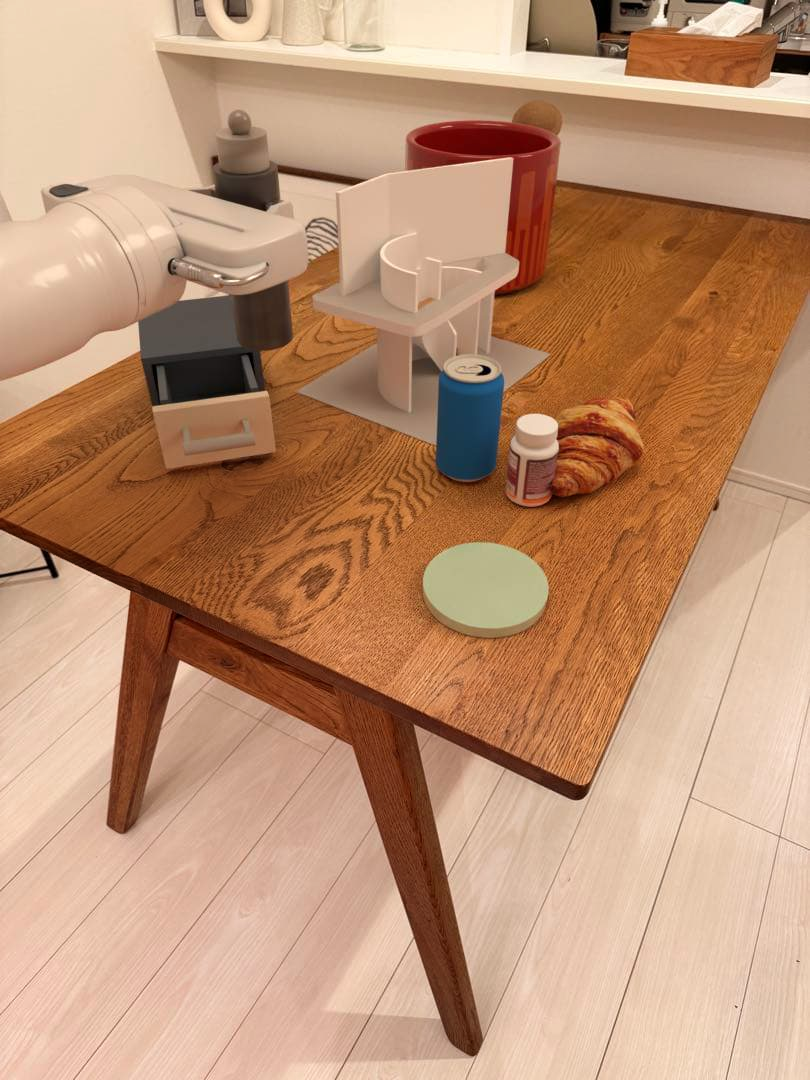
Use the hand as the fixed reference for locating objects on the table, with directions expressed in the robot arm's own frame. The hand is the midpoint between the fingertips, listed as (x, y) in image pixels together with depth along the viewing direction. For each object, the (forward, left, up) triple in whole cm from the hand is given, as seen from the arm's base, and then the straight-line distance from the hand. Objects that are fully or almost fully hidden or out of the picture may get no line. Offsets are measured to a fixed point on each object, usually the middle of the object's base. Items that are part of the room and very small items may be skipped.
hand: (256, 201), depth 64 cm
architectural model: (+22, +17, -28) cm, 39 cm away
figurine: (+60, +72, -28) cm, 97 cm away
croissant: (+33, -7, -28) cm, 43 cm away
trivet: (+14, -24, -27) cm, 39 cm away
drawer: (-6, +7, -26) cm, 28 cm away
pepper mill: (-1, 0, -12) cm, 12 cm away
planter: (+40, +48, -28) cm, 68 cm away
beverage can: (+19, -5, -28) cm, 34 cm away
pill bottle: (+23, -11, -27) cm, 38 cm away
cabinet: (-6, +20, -27) cm, 35 cm away
